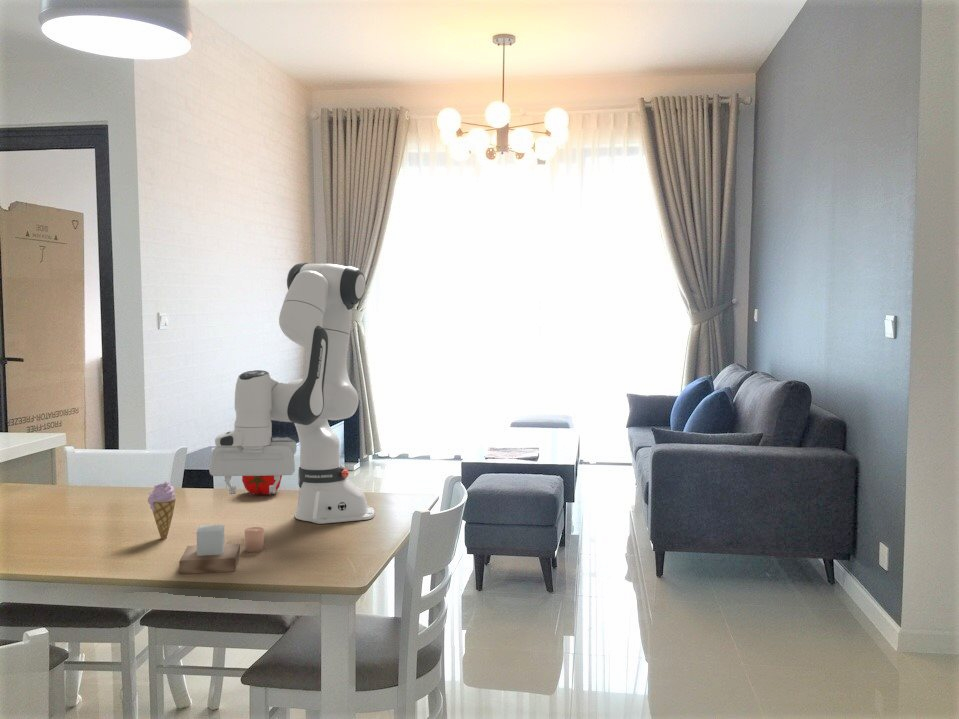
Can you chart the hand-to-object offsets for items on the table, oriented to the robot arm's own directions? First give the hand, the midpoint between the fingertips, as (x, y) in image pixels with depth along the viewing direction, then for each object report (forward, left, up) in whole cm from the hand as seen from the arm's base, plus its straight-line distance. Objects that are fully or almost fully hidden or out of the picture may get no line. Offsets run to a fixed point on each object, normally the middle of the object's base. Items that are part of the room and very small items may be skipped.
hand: (252, 493), depth 210 cm
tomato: (+2, -63, -14) cm, 65 cm away
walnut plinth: (+9, +11, -14) cm, 20 cm away
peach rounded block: (0, 0, -14) cm, 14 cm away
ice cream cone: (+24, -14, -14) cm, 31 cm away
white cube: (+9, +10, -11) cm, 18 cm away
